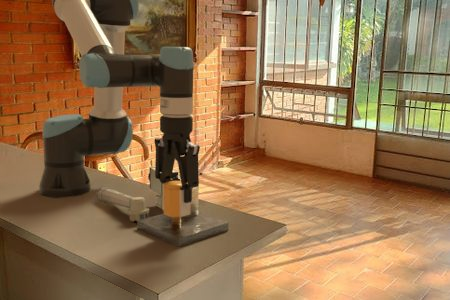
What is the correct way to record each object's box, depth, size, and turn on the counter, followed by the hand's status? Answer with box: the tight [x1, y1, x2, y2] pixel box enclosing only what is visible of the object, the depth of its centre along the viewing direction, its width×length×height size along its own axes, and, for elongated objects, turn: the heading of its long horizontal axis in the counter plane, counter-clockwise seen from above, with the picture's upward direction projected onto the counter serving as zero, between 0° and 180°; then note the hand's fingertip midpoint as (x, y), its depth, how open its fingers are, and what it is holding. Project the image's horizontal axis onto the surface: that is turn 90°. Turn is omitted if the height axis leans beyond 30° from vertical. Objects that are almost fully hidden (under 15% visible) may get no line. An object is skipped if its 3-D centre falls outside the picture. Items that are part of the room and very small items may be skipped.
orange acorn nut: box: [163, 180, 182, 217], centre depth 117 cm, size 6×6×7 cm
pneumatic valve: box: [147, 166, 181, 210], centre depth 139 cm, size 6×12×12 cm, turn 32°
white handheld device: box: [96, 187, 150, 222], centre depth 136 cm, size 5×7×25 cm
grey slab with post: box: [136, 185, 229, 247], centre depth 122 cm, size 16×16×9 cm
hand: (176, 211), depth 117 cm, fingers closed on orange acorn nut, 6 cm apart
